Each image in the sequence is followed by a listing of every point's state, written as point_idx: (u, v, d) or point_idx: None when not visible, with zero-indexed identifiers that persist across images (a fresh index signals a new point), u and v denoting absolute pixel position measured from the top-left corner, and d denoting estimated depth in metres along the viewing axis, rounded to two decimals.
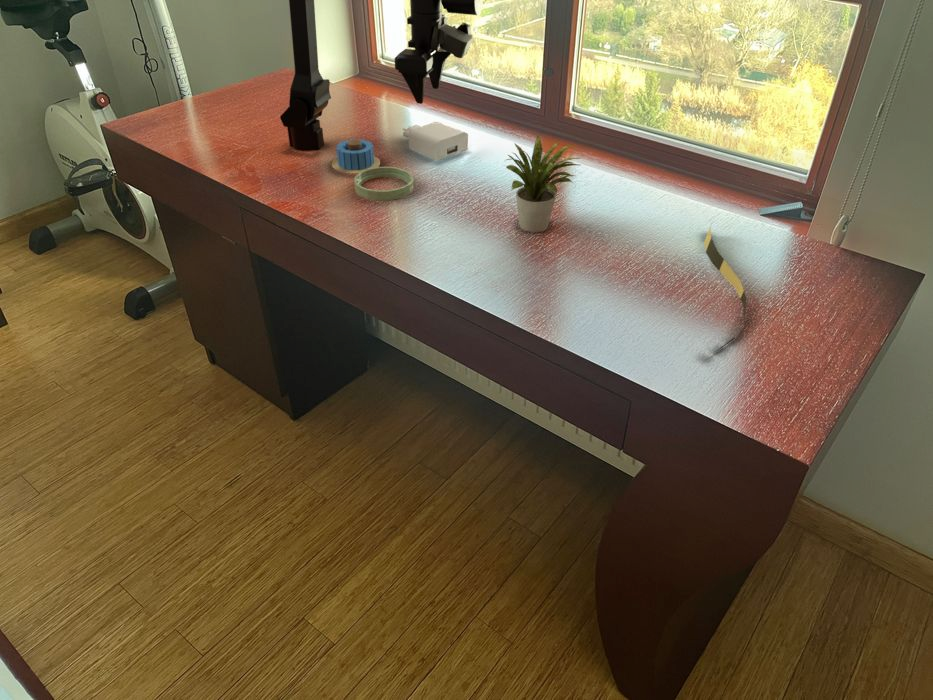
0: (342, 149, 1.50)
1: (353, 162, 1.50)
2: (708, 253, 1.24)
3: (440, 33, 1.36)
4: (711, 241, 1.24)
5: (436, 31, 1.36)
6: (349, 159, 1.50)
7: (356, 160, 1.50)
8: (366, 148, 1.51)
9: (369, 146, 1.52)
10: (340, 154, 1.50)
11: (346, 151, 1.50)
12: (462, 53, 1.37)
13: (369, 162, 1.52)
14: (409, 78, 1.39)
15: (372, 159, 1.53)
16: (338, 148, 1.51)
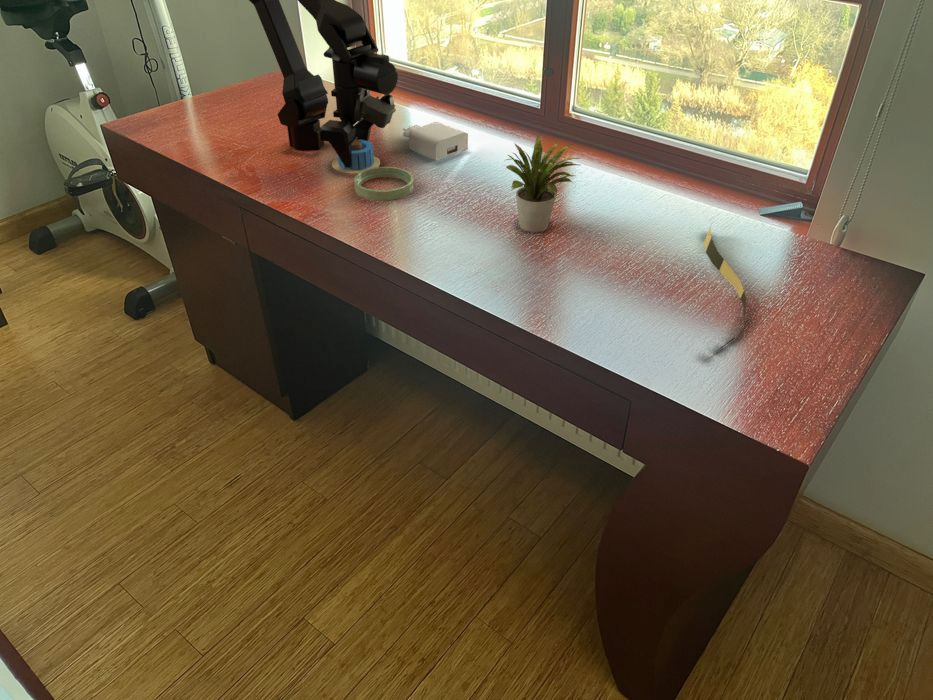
0: None
1: (353, 162, 1.50)
2: (708, 253, 1.24)
3: (362, 105, 1.44)
4: (711, 241, 1.24)
5: (358, 103, 1.43)
6: None
7: (356, 160, 1.50)
8: (366, 148, 1.51)
9: (369, 146, 1.52)
10: None
11: None
12: (384, 123, 1.45)
13: (369, 162, 1.52)
14: (336, 145, 1.47)
15: (372, 159, 1.53)
16: None
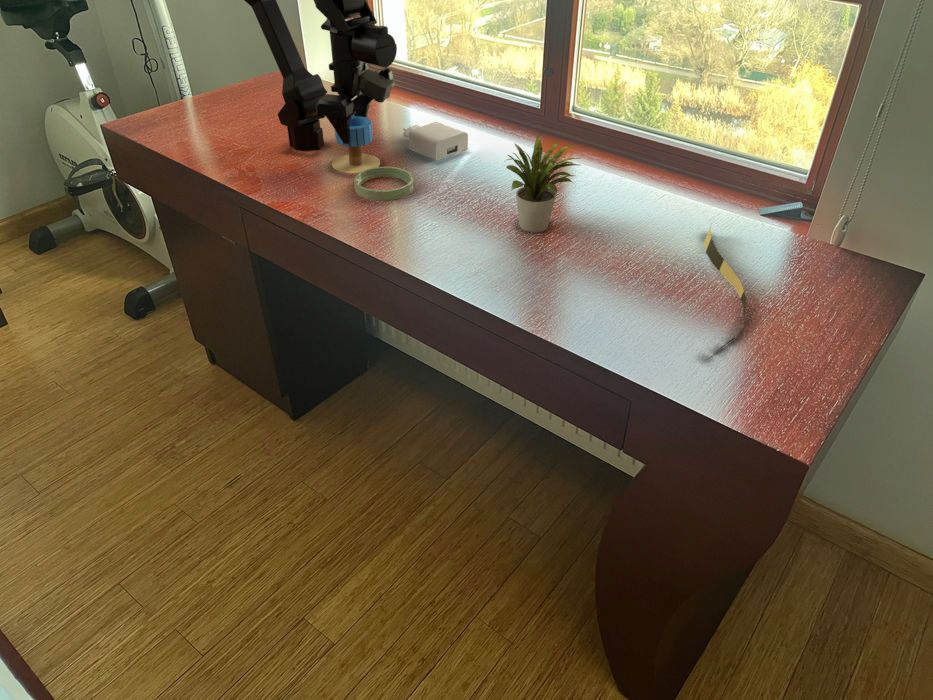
0: None
1: (351, 138, 1.47)
2: (708, 253, 1.24)
3: (360, 79, 1.41)
4: (711, 241, 1.24)
5: (356, 77, 1.40)
6: None
7: (354, 136, 1.47)
8: (365, 124, 1.48)
9: (368, 122, 1.49)
10: None
11: None
12: (382, 98, 1.42)
13: (368, 138, 1.49)
14: (334, 120, 1.44)
15: (371, 136, 1.50)
16: None
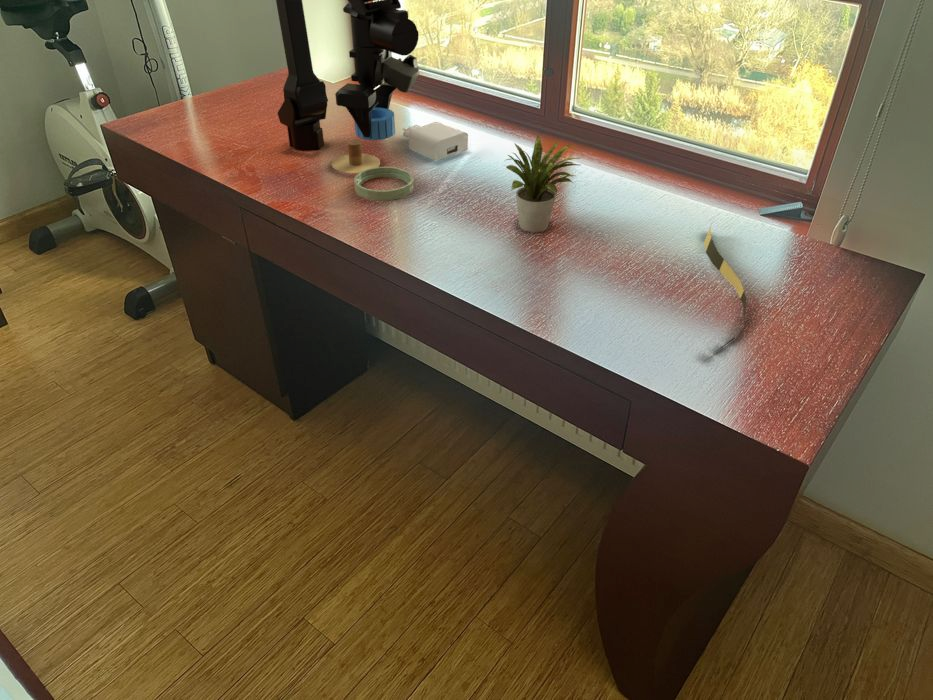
0: None
1: (373, 131, 1.37)
2: (708, 253, 1.24)
3: (383, 67, 1.30)
4: (711, 241, 1.24)
5: (379, 65, 1.30)
6: None
7: (376, 129, 1.36)
8: (387, 116, 1.38)
9: (390, 114, 1.38)
10: None
11: None
12: (407, 87, 1.32)
13: (390, 131, 1.38)
14: (354, 112, 1.33)
15: (393, 128, 1.39)
16: None
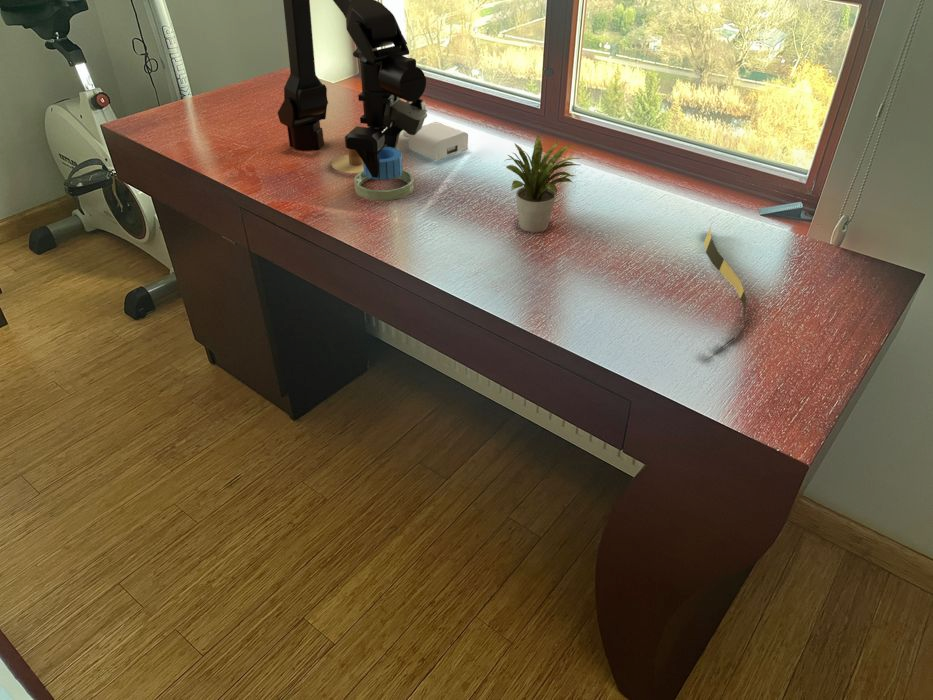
0: None
1: (381, 171, 1.39)
2: (708, 253, 1.24)
3: (392, 110, 1.33)
4: (711, 241, 1.24)
5: (388, 108, 1.32)
6: None
7: (384, 169, 1.39)
8: (395, 156, 1.40)
9: (398, 154, 1.41)
10: None
11: None
12: (415, 130, 1.34)
13: (398, 171, 1.41)
14: (363, 153, 1.36)
15: (401, 168, 1.42)
16: None
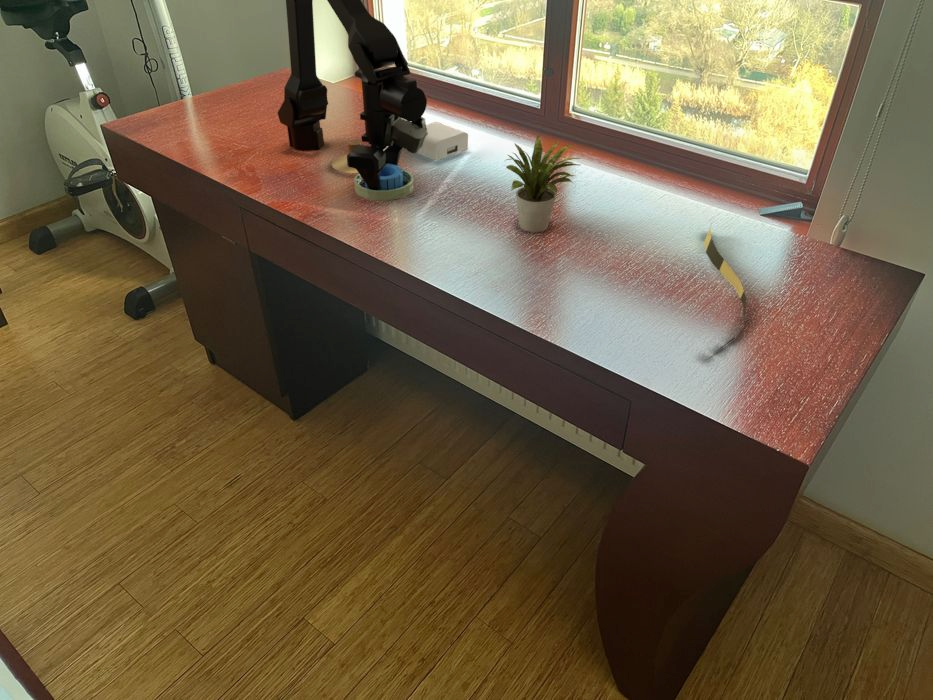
0: None
1: (382, 188, 1.41)
2: (708, 253, 1.24)
3: (393, 129, 1.35)
4: (711, 241, 1.24)
5: (389, 127, 1.34)
6: None
7: (385, 186, 1.41)
8: (396, 173, 1.42)
9: (399, 171, 1.43)
10: None
11: None
12: (416, 148, 1.36)
13: None
14: (363, 172, 1.37)
15: (402, 185, 1.44)
16: None
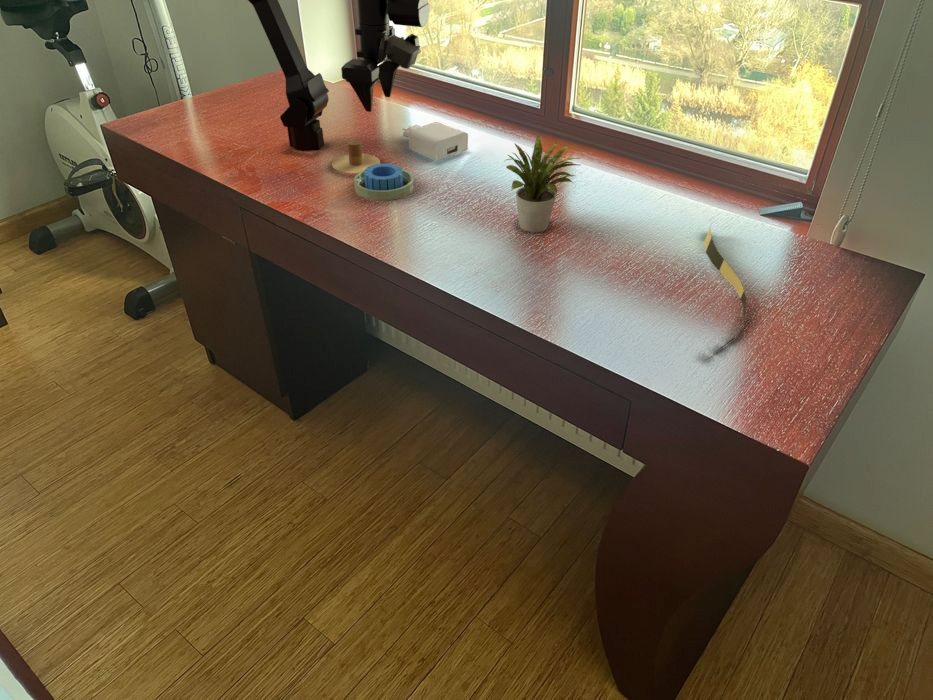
0: (370, 175, 1.41)
1: (382, 188, 1.41)
2: (708, 253, 1.24)
3: (387, 44, 1.40)
4: (711, 241, 1.24)
5: (383, 42, 1.40)
6: (378, 185, 1.41)
7: (385, 186, 1.41)
8: (396, 173, 1.42)
9: (399, 171, 1.43)
10: (368, 180, 1.41)
11: (375, 177, 1.41)
12: (408, 64, 1.41)
13: None
14: (357, 87, 1.43)
15: (402, 185, 1.44)
16: (366, 173, 1.42)
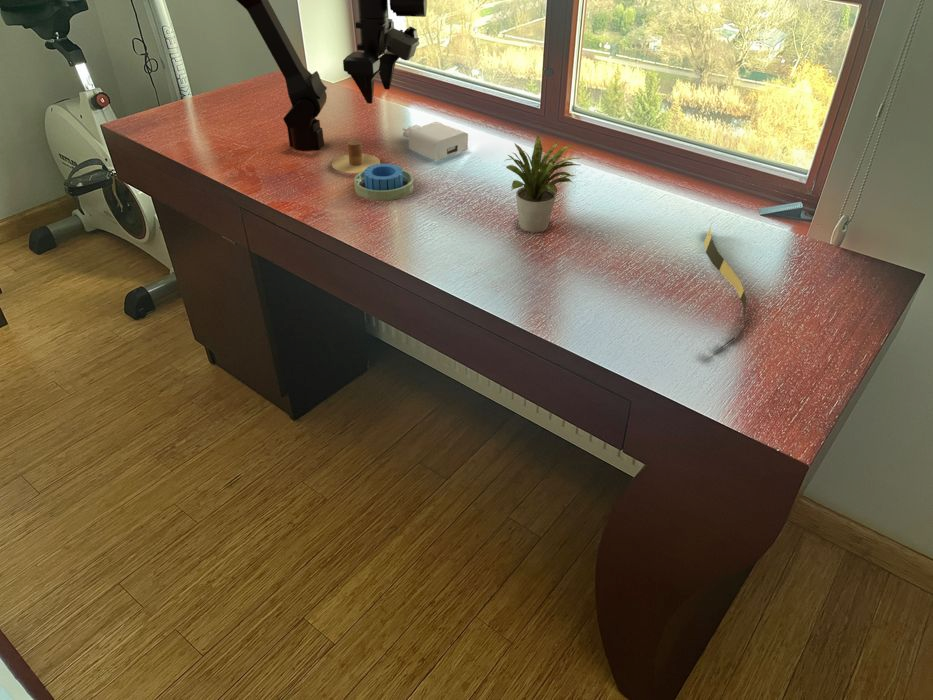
0: (370, 175, 1.41)
1: (382, 188, 1.41)
2: (708, 253, 1.24)
3: (387, 37, 1.44)
4: (711, 241, 1.24)
5: (383, 35, 1.43)
6: (378, 185, 1.41)
7: (385, 186, 1.41)
8: (396, 173, 1.42)
9: (399, 171, 1.43)
10: (368, 180, 1.41)
11: (375, 177, 1.41)
12: (408, 55, 1.45)
13: None
14: (358, 79, 1.46)
15: (402, 185, 1.44)
16: (366, 173, 1.42)
